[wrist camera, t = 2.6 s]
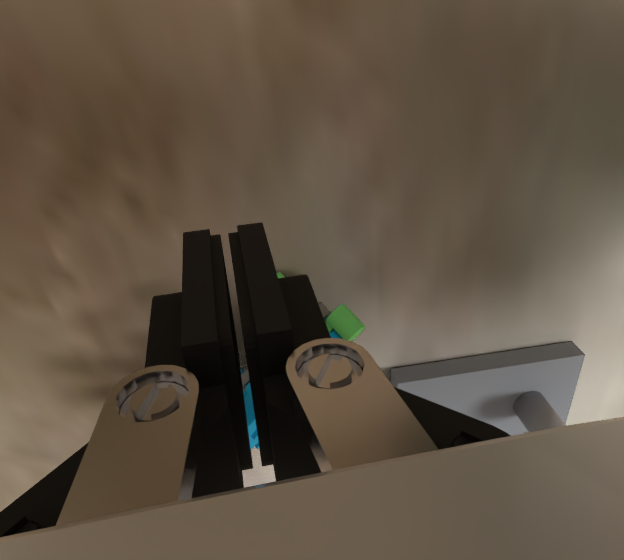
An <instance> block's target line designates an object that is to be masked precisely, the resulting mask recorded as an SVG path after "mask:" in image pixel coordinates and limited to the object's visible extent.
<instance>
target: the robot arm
mask: <svg viewBox="0 0 624 560" xmlns="http://www.w3.org/2000/svg"><path fill="white" fill-rule="evenodd" d="M237 228H238V232H236V233H228V235H229V242H230V249H231V256H232V263H233V270H234V276H235V283H236V290H237V297H238V304H239V311H240V318H241V325H242V332H243V339H244V345H245V352H246V359H247V366H248V373H249V380H250V386H251V393H252V400H253V407H254V414H255V420H256V427H257V434H258V441H259V448H260V455H261V461H262V466H267V465H272V464H273V465H274V471H275V477H276V482H271V483H266V484H261V485H256V486H251V487H246V488H244V486H243V476H242V470H247V469H252V468H253V465H252V457H251V449H250V441H249V433H248V425H247V417H246V409H245V401H244V393H243V385H242V377H241V370H240V362H239V354H238V346H237V339H236V333H235V326H234V320H233V313H232V307H231V300H230V294H229V288H228V281H227V275H226V268H225V262H224V255H223V249H222V243H221V236H220V235H213V236H211V235H210V230H209V229H207V230H199V231H192V232H184V233H183V273H182V292H180V293H173V294H167V295H160V296H154V297H153V300H152V307H151V317H150V326H149V335H148V344H147V354H146V363H145V368H144V369H141V370H138V371H136V372H133V373H132V374H130V375H128V376H127V377H125V378H123V379H122V380H121V381H120V382H119V383H118V384H116V385H115V386H114V387H113V388H112V390H111V392H110V393H109V395H108V396H107V398H106V400H105V403H104V405H103V408H102V410H101V413H100V416H99V418H98V421H97V423H96V426H95V428H94V431H93V433H92V436H91V438H90V441H89V442H88V443H87V444H86V445H85V446H83V447H82V448H81V449H80V450H78V451H77V452H76V453H75V454H73V455H72V456H71V457H70V458H68V459H67V460H66V461H64V462H63V463H62V464H61V465H59V466H58V467H57V468H56V469H54V470H53V471H52V472H51V473H49V474H48V475H47V476H46V477H44V478H43V479H42V480H40V481H39V482H38V483H37V484H35V485H34V486H33V487H32V488H30V489H29V490H28V491H27V492H25V493H24V494H23V495H22V496H20V497H19V498H18V499H16V500H15V501H14V502H13V503H11V504H10V505H9V506H8V507H6V508H5V509H4V510H3V511H1V512H0V560H624V417H620V418H614V419H607V420H601V421H594V422H588V423H581V424H575V425H568V426H562V427H555V428H550V429H545V430H540V431H535V432H523V434H519V435H514V436H510V435H509V434H508V433H506V432H505V431H503V430H501V429H499V428H497V427H495V426H493V425H490V424H488V423H485V422H483V421H480V420H478V419H475V418H472V417H470V416H467V415H465V414H462V413H460V412H457V411H455V410H452V409H449V408H447V407H444V406H442V405H439V404H437V403H434V402H432V401H429V400H427V399H424V398H421V397H419V396H416V395H414V394H411V393H409V392H406V391H404V390H401V389H398V388H396V387H393V386H392V384H391V383H390V381H389V380H388V379H387V377H386V376H385V375H384V373H383V372H382V370H381V369H380V368H379V366H378V365H377V363H376V362H375V361H374V359H373V358H372V357H371V355H370V354H369V353H368V352H367V351H366V350H365V349H364V348H363V347H362V346H360V345H358V344H356V343H354V342H352V341H348V340H344V339H340V338H331V336H330V334H329V331H328V328H327V326H326V323H325V320H324V318H323V315H322V312H321V310H320V307H319V305H318V302H317V299H316V297H315V294H314V291H313V289H312V286H311V283H310V281H309V278H308V276H307V275H306V274H305V275H298V276H291V277H284V278H278V277H277V273H276V270H275V266H274V263H273V259H272V255H271V252H270V248H269V245H268V241H267V238H266V234H265V231H264V227H263V224H262V223H254V224H246V225H238V226H237Z"/></svg>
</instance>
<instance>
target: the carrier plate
mask: <svg viewBox="0 0 624 560" xmlns="http://www.w3.org/2000/svg"><path fill="white" fill-rule="evenodd" d="M584 356H585V354H584V353H583V352H582V351H581V350H580V349H579V348H578V347H577V346H576V345H575V344H574V343H573V342H572V341H571V342H564V343H558V344H551V345H544V346H538V347H531V348H525V349H518V350H512V351H505V352H498V353H492V354H485V355H479V356H472V357H465V358H459V359H452V360H446V361H439V362H432V363H426V364H419V365H413V366H406V367H400V368H393V369H391V382H390V383H391V384H392V386H393V387H396V388H398V389H401V390H404V391H406V392H409V393H411V394H414V395H416V396H419V397H421V398H424V399H427V400H429V401H432V402H434V403H437V404H439V405H442V406H444V407H447V408H449V409H452V410H455V411H457V412H460V413H462V414H465V415H467V416H470V417H472V418H475V419H478V420H480V421H483V422H485V423H488V424H490V425H493V426H495V427H497V428H499V429H501V430H503V431H505V432H506V433H508V434H509V435H510V436H514V435H519V434H523V432H535V431H540V430H545V429H550V428H555V427H562V426H566V425H565V424H566V420H567V416H568V413H569V409H570V406H571V402H572V399H573V395H574V392H575V388H576V385H577V381H578V378H579V374H580V370H581V367H582V363H583V360H584Z"/></svg>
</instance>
